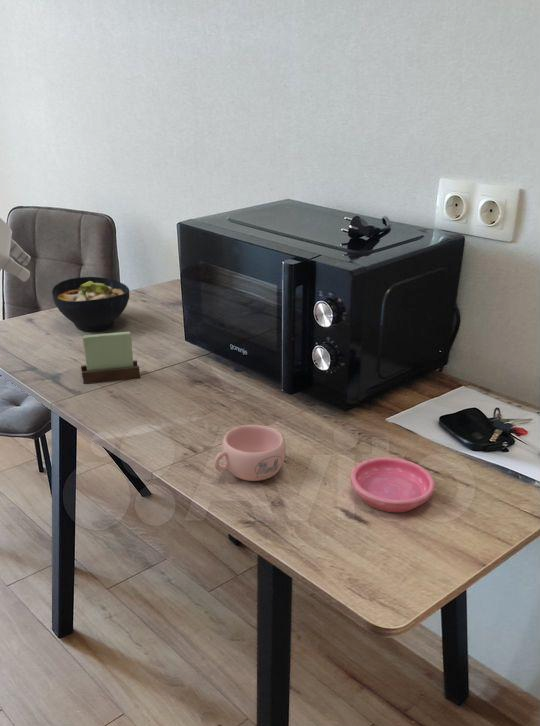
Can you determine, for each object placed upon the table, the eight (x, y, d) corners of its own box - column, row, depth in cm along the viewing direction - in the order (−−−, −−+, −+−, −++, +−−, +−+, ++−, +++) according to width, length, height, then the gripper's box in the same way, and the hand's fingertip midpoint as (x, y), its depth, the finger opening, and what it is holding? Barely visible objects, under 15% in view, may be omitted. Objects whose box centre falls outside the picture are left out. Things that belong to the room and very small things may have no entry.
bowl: (74, 344, 154) (68, 299, 148) (45, 321, 165) (39, 279, 160) (144, 329, 162) (141, 287, 157) (112, 308, 174) (108, 268, 168)
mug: (263, 449, 117) (264, 418, 114) (297, 477, 110) (298, 444, 107) (199, 468, 112) (198, 435, 109) (230, 498, 105) (230, 464, 102)
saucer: (449, 505, 105) (452, 487, 103) (382, 528, 99) (385, 510, 98) (397, 466, 114) (399, 449, 112) (333, 485, 108) (334, 468, 107)
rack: (83, 384, 137) (82, 372, 136) (82, 376, 140) (80, 365, 139) (140, 378, 140) (139, 367, 139) (137, 371, 143) (136, 360, 141)
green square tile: (88, 381, 138) (82, 337, 133) (87, 378, 139) (82, 335, 134) (134, 376, 141) (130, 333, 136) (133, 374, 142) (129, 331, 137)
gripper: (-37, 213, 107) (39, 273, 115) (-28, 187, 123) (39, 241, 131) (-62, 244, 108) (16, 302, 116) (-49, 214, 125) (18, 266, 132)
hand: (28, 269), depth 124 cm, fingers open, 8 cm apart
